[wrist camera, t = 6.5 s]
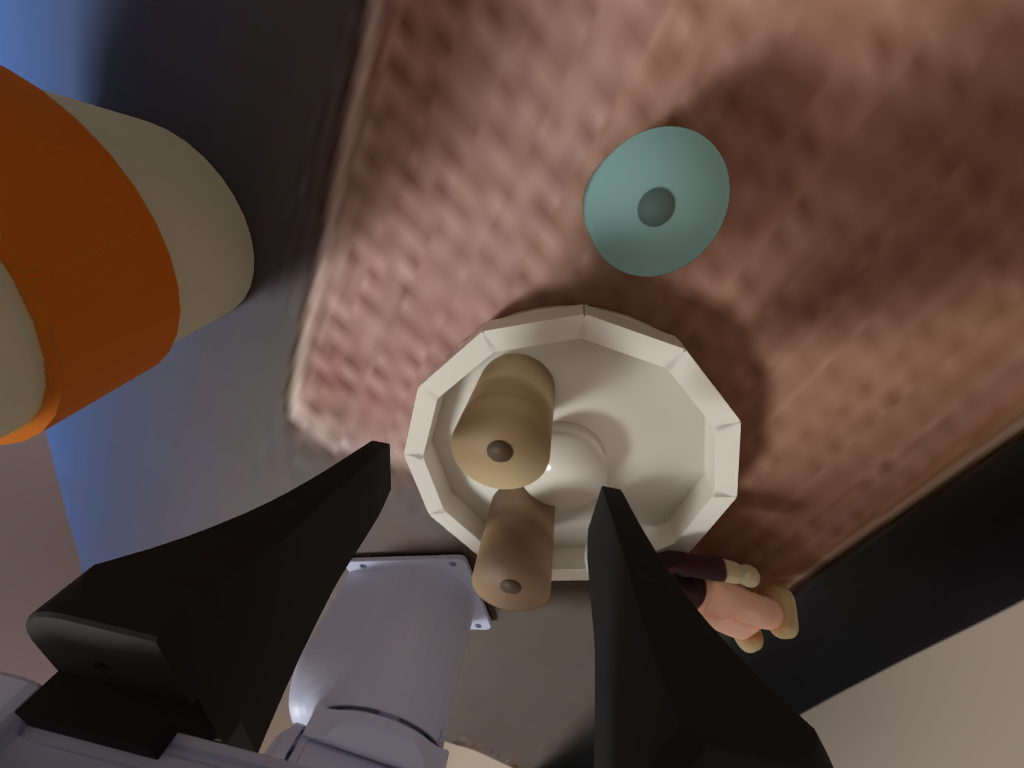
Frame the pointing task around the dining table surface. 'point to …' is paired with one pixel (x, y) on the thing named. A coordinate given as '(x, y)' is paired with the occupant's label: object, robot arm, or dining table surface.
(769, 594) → the grandmother figurine
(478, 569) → the walnut bead
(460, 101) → the dining table surface
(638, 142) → the teal bead
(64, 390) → the reusable coffee cup
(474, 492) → the groove tray
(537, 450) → the oak bead
